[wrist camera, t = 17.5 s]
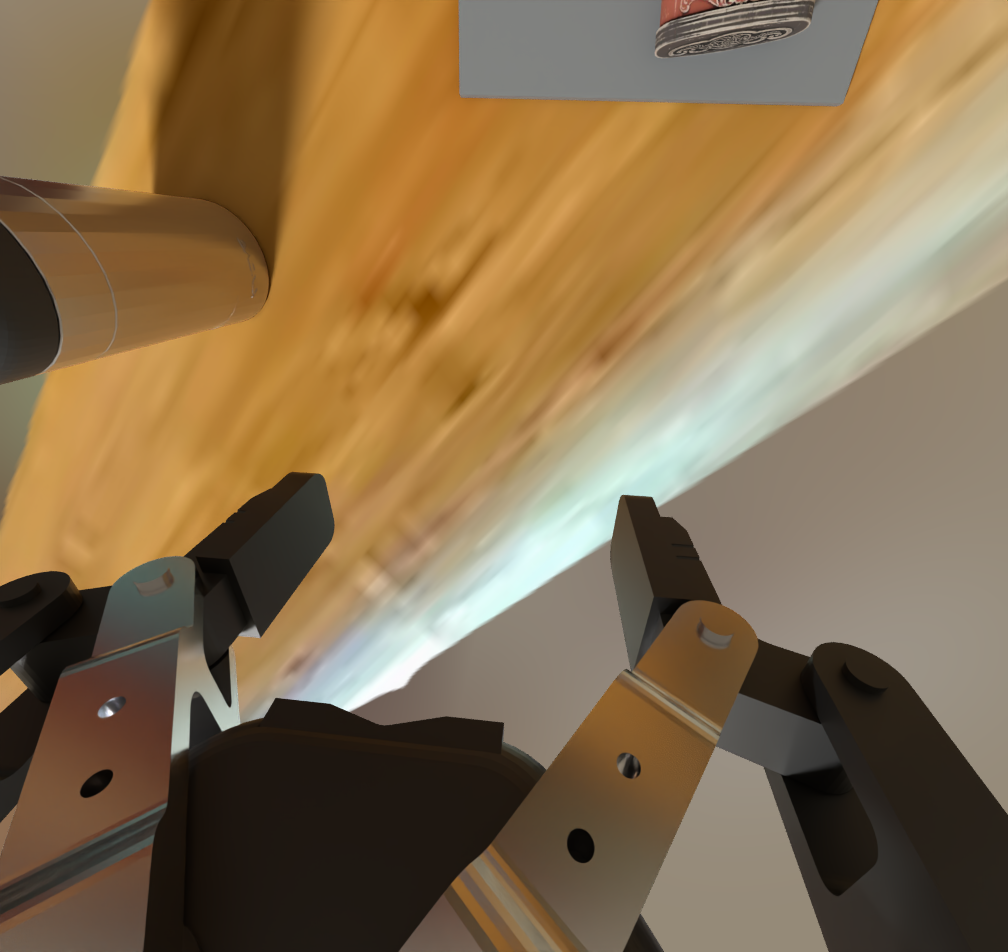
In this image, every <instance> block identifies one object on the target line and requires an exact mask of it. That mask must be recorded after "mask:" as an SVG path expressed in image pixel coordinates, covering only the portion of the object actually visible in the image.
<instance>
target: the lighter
mask: <svg viewBox="0 0 1008 952" xmlns="http://www.w3.org/2000/svg"><path fill="white" fill-rule="evenodd" d="M814 4H815V0H662V2H661V16H660V28H659V29H658V30H657V32H656V41H655V56H656V57H658V58H675V57H685V56H694V55H701V54H708V53H715V52H722V51H728V50H733V49H738V48H744V47H749V46H754V45H758V44H763V43H767V42H772V41H777V40H781V39H785V38H788V37H791V36H793V35H796V34H798V33H800V32H802V31H804V30H805V29H806V28H808V27H809V25H810V24H811V19H812V14H813V9H814Z"/></svg>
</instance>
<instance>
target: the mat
mask: <svg viewBox="0 0 1008 952" xmlns="http://www.w3.org/2000/svg"><path fill="white" fill-rule="evenodd" d="M661 2H662V0H459V79H460V96H461V97H464V98H507V99H550V100H592V101H635V102H678V103H721V104H764V105H807V106H839V105H841V104H843V102H844V99H845V96H846V93H847V90H848V87H849V84H850V81H851V79H852V76H853V73H854V70H855V67H856V64H857V61H858V58H859V55H860V52H861V49H862V46H863V44H864V41H865V38H866V35H867V32H868V29H869V26H870V23H871V20H872V17H873V14H874V11H875V8H876V6H877V3H878V0H815V4H814V9H813V14H812V19H811V24H810V25H809V27H808V28H806V29H805V30H804V31H802V32H800V33H798V34H796V35H793V36H791V37H788V38H785V39H781V40H777V41H772V42H767V43H763V44H758V45H754V46H749V47H744V48H738V49H733V50H728V51H722V52H715V53H708V54H701V55H694V56H685V57H675V58H658V57H656V56H655V41H656V32H657V30H658V29H659V28H660V16H661Z"/></svg>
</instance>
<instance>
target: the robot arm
mask: <svg viewBox="0 0 1008 952" xmlns="http://www.w3.org/2000/svg"><path fill="white" fill-rule="evenodd" d="M268 287H269V277H268V269H267V265H266V262H265V259H264V255H263V253H262V251H261V249H260V247H259V245H258V243H257V241H256V239H255V238H254V236H253V235H252V233H251V232H250V231H249V229H248V228H247V227H246V226H245V225H244V224H243V223H242V222H241V221H240V219H239V218H238V217H236V216H235V215H234V214H232V213H231V212H230V211H228V210H227V209H226V208H224V207H222V206H220V205H218V204H216V203H214V202H210V201H207V200H203V199H196V198H187V197H178V196H169V195H162V194H154V193H145V192H137V191H128V190H119V189H110V188H102V187H93V186H84V185H75V184H67V183H58V182H49V181H41V180H32V179H22V178H14V177H6V176H0V385H1V384H5V383H9V382H13V381H16V380H20V379H24V378H28V377H31V376H35V375H39V374H43V373H46V372H50V371H54V370H58V369H62V368H66V367H69V366H73V365H77V364H81V363H85V362H88V361H91V360H95V359H99V358H103V357H107V356H111V355H114V354H118V353H122V352H126V351H130V350H134V349H138V348H141V347H145V346H149V345H153V344H157V343H161V342H165V341H168V340H172V339H176V338H180V337H184V336H188V335H191V334H195V333H199V332H203V331H207V330H211V329H215V328H219V327H223V326H227V325H231V324H235V323H238V322H242V321H246V320H248V319H250V318H252V317H254V316H255V315H256V314H257V313H258V312H259V311H260V310H261V308H262V307H263V305H264V303H265V301H266V298H267V294H268ZM333 533H334V518H333V513H332V509H331V504H330V500H329V495H328V491H327V486H326V482H325V479H324V477H323V476H322V475H321V474H315V473H300V472H291V473H289V474H287V475H286V476H285V477H284V478H283V479H282V480H281V481H280V482H278V483H277V484H276V485H275V486H274V487H273V488H272V489H269V490H267V491H265V492H263V493H261V494H259V495H257V496H255V497H253V498H251V499H250V500H249V501H248V502H246V503H245V504H244V505H243V506H242V507H241V508H239V509H238V512H237V513H234V514H232V515H231V516H230V517H229V518H228V519H227V520H226V523H222V524H221V525H220V526H218V527H217V528H216V529H215V530H214V531H213V532H212V533H210V534H209V535H208V536H207V537H206V538H205V539H203V540H202V541H201V542H200V543H199V544H198V545H196V546H195V547H194V548H193V549H192V550H191V551H189V552H188V553H187V554H186V555H185V556H184V557H181V556H172V557H164V558H160V559H156V560H153V561H150V562H147V563H144V564H142V565H140V566H138V567H136V568H134V569H132V570H130V571H129V572H127V573H126V574H124V575H123V576H122V577H120V578H119V579H118V580H117V581H116V582H115V583H114V584H113V586H107V587H100V588H93V589H85V590H78V589H77V587H76V586H75V584H74V583H73V581H72V580H71V578H70V577H69V575H68V574H66V573H63V572H58V571H49V572H42V573H36V574H32V575H29V576H25V577H22V578H19V579H16V580H14V581H11V582H9V583H7V584H4V585H2V586H0V675H2V674H3V673H4V672H5V671H6V670H8V669H9V668H11V669H12V670H13V672H14V673H15V674H16V675H17V676H18V677H19V678H20V679H21V681H22V682H23V683H24V684H25V685H26V686H27V687H28V689H26V690H25V691H24V692H23V693H22V694H21V695H20V696H19V697H18V698H17V699H15V700H14V701H13V702H12V703H11V704H10V705H9V706H8V707H7V708H6V709H4V710H3V711H2V712H1V713H0V822H1V821H2V820H3V819H4V818H5V817H6V816H7V815H8V814H9V812H10V811H11V810H12V809H13V808H14V807H15V806H16V805H17V807H16V809H15V813H14V816H13V819H12V822H11V825H10V828H9V831H8V834H7V837H6V840H5V843H4V846H3V849H2V852H1V855H0V952H664V951H663V949H662V948H661V946H660V944H659V943H658V941H657V939H656V938H655V936H654V935H653V933H652V931H651V930H650V928H649V927H648V925H647V923H646V922H645V920H644V918H643V917H642V915H641V914H640V913H641V910H642V908H643V906H644V904H645V901H646V899H647V897H648V895H649V893H650V890H651V888H652V886H653V884H654V882H655V879H656V877H657V875H658V873H659V870H660V868H661V866H662V864H663V862H664V859H665V857H666V855H667V853H668V850H669V848H670V846H671V844H672V842H673V839H674V837H675V835H676V833H677V830H678V828H679V826H680V824H681V822H682V819H683V817H684V815H685V813H686V810H687V808H688V806H689V804H690V802H691V799H692V797H693V794H694V792H695V790H696V788H697V786H698V784H699V782H700V779H701V777H702V775H703V773H704V770H705V768H706V766H707V764H708V762H709V759H710V757H711V755H712V753H713V750H714V748H715V746H717V747H719V748H722V749H724V750H726V751H728V752H731V753H733V754H735V755H738V756H740V757H742V758H745V759H747V760H749V761H752V762H754V763H756V764H759V765H761V766H763V767H764V769H765V772H766V775H767V778H768V781H769V783H770V786H771V789H772V792H773V795H774V798H775V800H776V803H777V806H778V809H779V812H780V814H781V818H782V820H783V823H784V826H785V829H786V832H787V835H788V837H789V840H790V843H791V846H792V849H793V852H794V854H795V857H796V860H797V863H798V866H799V869H800V871H801V874H802V877H803V880H804V883H805V886H806V888H807V891H808V894H809V897H810V900H811V903H812V906H813V908H814V911H815V914H816V917H817V919H818V923H819V925H820V928H821V931H822V934H823V937H824V940H825V942H826V945H827V948H828V951H829V952H1008V815H1007V813H1006V812H1005V811H1004V809H1003V808H1002V807H1001V805H1000V804H999V803H998V801H997V800H996V799H995V797H994V796H993V795H992V793H991V792H990V791H989V789H988V788H987V787H986V785H985V784H984V783H983V781H982V780H981V779H980V777H979V776H978V775H977V773H976V772H975V771H974V769H973V768H972V767H971V765H970V764H969V763H968V761H967V760H966V759H965V757H964V756H963V755H962V753H961V752H960V750H959V749H958V748H957V746H956V745H955V744H954V742H953V741H952V740H951V739H950V737H949V736H948V735H947V733H946V732H945V731H944V729H943V728H942V727H941V725H940V724H939V722H938V721H937V720H936V718H935V717H934V716H933V715H932V713H931V712H930V711H929V709H928V708H927V707H926V705H925V704H924V703H923V701H922V700H921V698H920V697H919V696H918V695H917V693H916V692H915V690H914V689H913V688H912V686H911V685H910V684H909V683H908V682H907V681H906V679H905V678H904V677H903V676H902V675H901V674H900V673H899V672H898V671H897V670H895V669H894V668H893V667H892V666H890V665H889V664H888V663H886V662H885V661H883V660H882V659H880V658H878V657H877V656H875V655H873V654H871V653H869V652H867V651H865V650H863V649H860V648H858V647H855V646H852V645H848V644H843V643H836V642H831V643H824V644H821V645H819V646H818V647H817V648H816V649H815V650H814V651H813V653H812V655H811V657H808V656H805V655H802V654H799V653H795V652H793V651H790V650H786V649H783V648H781V647H777V646H774V645H772V644H769V643H766V642H764V641H762V640H760V639H758V638H757V636H756V634H755V632H754V630H753V629H752V627H751V626H750V625H749V624H748V622H747V621H746V620H745V619H743V618H742V617H741V616H740V615H739V614H737V613H736V612H734V611H733V610H731V609H729V608H727V607H725V606H723V605H722V604H721V602H720V600H719V597H718V595H717V593H716V591H715V589H714V587H713V585H712V583H711V581H710V579H709V576H708V574H707V572H706V570H705V568H704V566H703V564H702V562H701V561H699V555H698V553H697V551H696V549H695V548H694V547H693V543H692V541H691V539H690V537H689V534H688V532H687V531H686V530H685V529H684V528H683V527H682V526H681V525H680V524H679V523H678V522H677V521H676V520H674V519H673V518H670V517H660V515H659V512H658V510H657V507H656V505H655V502H654V500H653V498H652V497H646V496H631V495H622V496H621V497H620V500H619V504H618V510H617V515H616V520H615V526H614V531H613V536H612V542H611V551H610V557H611V558H610V560H611V568H612V574H613V579H614V584H615V589H616V595H617V600H618V605H619V610H620V615H621V620H622V626H623V632H624V637H625V642H626V647H627V652H628V658H629V663H630V668H631V672H630V671H629V670H627V669H625V670H624V671H622V672H621V673H620V674H619V675H618V676H617V678H616V679H615V680H614V681H613V683H612V684H611V685H610V687H609V688H608V689H607V691H606V692H605V694H604V695H603V696H602V697H601V699H600V700H599V701H598V703H597V704H596V705H595V707H594V708H593V709H592V711H591V712H590V713H589V715H588V716H587V717H586V719H585V720H584V721H583V723H582V724H581V725H580V727H579V728H578V729H577V731H576V732H575V733H574V734H573V736H572V737H571V739H570V740H569V741H568V742H567V744H566V745H565V747H564V748H563V749H562V751H561V752H560V753H559V754H558V756H557V757H556V758H555V760H554V761H553V762H552V764H551V765H550V766H549V768H548V769H547V770H546V769H545V768H544V767H543V766H542V765H541V764H540V763H538V762H537V761H536V760H535V759H533V758H532V757H531V756H529V755H528V754H526V753H524V752H523V751H521V750H519V749H518V748H516V747H514V746H511V745H509V744H507V743H505V742H503V734H504V723H502V722H492V721H483V720H474V719H465V718H456V717H440V718H433V719H426V720H420V721H413V722H407V723H400V724H394V725H385V726H384V725H378V724H375V723H373V722H371V721H369V720H366V719H364V718H362V717H359V716H357V715H355V714H352V713H350V712H348V711H345V710H343V709H341V708H338V707H336V706H334V705H332V704H327V703H317V702H308V701H299V700H290V699H281V698H275V700H274V702H273V703H272V705H271V707H270V708H269V710H268V712H267V713H266V715H265V717H264V718H260V719H256V720H252V721H249V722H245V723H242V724H240V718H239V706H238V691H237V676H236V661H235V652H234V649H233V647H232V645H231V644H232V643H233V642H234V640H235V639H236V638H237V637H238V636H246V637H256V638H261V637H262V635H263V634H264V632H265V631H266V630H267V628H268V627H269V626H270V624H271V623H272V621H273V620H274V619H275V617H276V616H277V615H278V613H279V612H280V611H281V609H282V608H283V606H284V605H285V604H286V602H287V601H288V600H289V598H290V597H291V595H292V594H293V593H294V591H295V590H296V589H297V587H298V586H299V584H300V583H301V582H302V580H303V579H304V578H305V576H306V575H307V573H308V572H309V571H310V569H311V568H312V567H313V565H314V564H315V563H316V561H317V560H318V558H319V557H320V556H321V554H322V553H323V552H324V550H325V549H326V547H327V546H328V545H329V543H330V542H331V540H332V537H333Z"/></svg>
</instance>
